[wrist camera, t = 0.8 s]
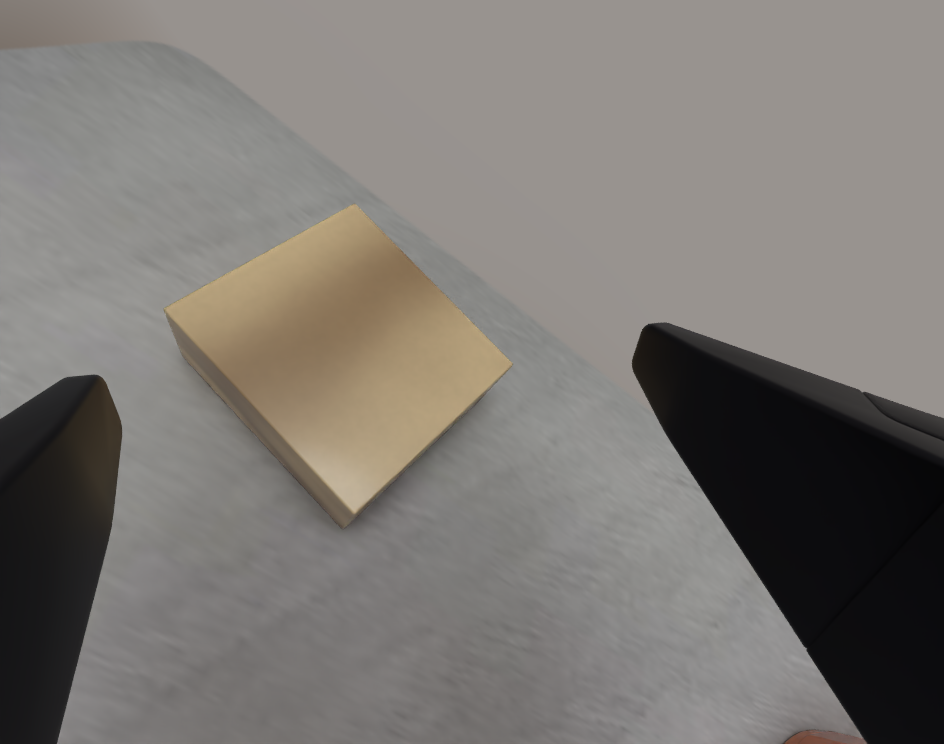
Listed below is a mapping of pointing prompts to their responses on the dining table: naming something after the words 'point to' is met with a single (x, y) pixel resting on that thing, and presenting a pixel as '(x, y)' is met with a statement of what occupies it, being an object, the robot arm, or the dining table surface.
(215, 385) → the stand
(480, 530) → the dining table surface
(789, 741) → the cup
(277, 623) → the dining table surface
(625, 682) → the dining table surface
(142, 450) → the dining table surface
